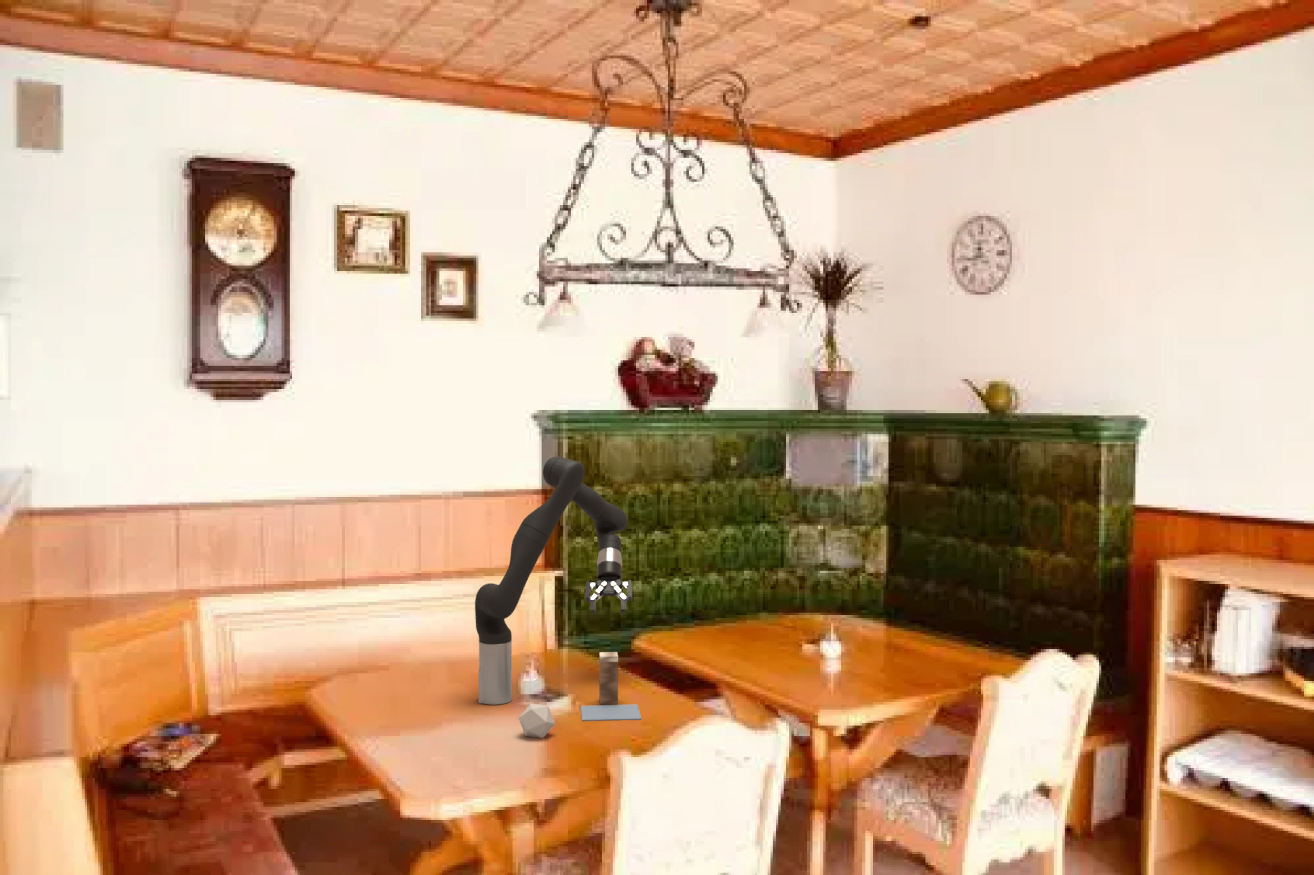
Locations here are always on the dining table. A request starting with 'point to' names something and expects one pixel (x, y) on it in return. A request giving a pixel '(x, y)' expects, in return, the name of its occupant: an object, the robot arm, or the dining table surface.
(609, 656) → the block
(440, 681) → the dining table surface
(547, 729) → the die
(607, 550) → the robot arm
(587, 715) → the board
